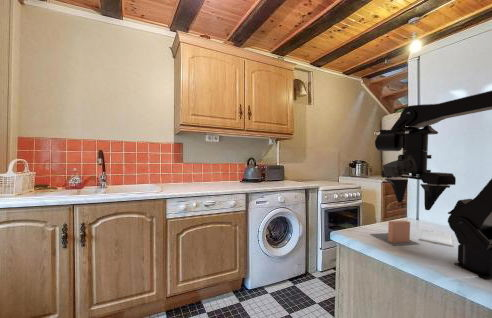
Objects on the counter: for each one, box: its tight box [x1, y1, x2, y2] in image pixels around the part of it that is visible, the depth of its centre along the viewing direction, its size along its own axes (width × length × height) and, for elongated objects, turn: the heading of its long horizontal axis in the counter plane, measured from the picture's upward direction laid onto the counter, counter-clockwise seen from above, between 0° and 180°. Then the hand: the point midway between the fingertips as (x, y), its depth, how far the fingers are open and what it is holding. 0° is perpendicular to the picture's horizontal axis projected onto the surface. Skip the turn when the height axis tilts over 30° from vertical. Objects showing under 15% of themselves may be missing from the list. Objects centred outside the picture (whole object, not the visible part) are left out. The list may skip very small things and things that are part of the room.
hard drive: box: [417, 228, 455, 248], centre depth 73 cm, size 2×8×12 cm
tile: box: [387, 220, 411, 243], centre depth 70 cm, size 2×6×6 cm, turn 100°
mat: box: [369, 232, 421, 247], centre depth 72 cm, size 10×9×1 cm
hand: (412, 206), depth 66 cm, fingers open, 9 cm apart
